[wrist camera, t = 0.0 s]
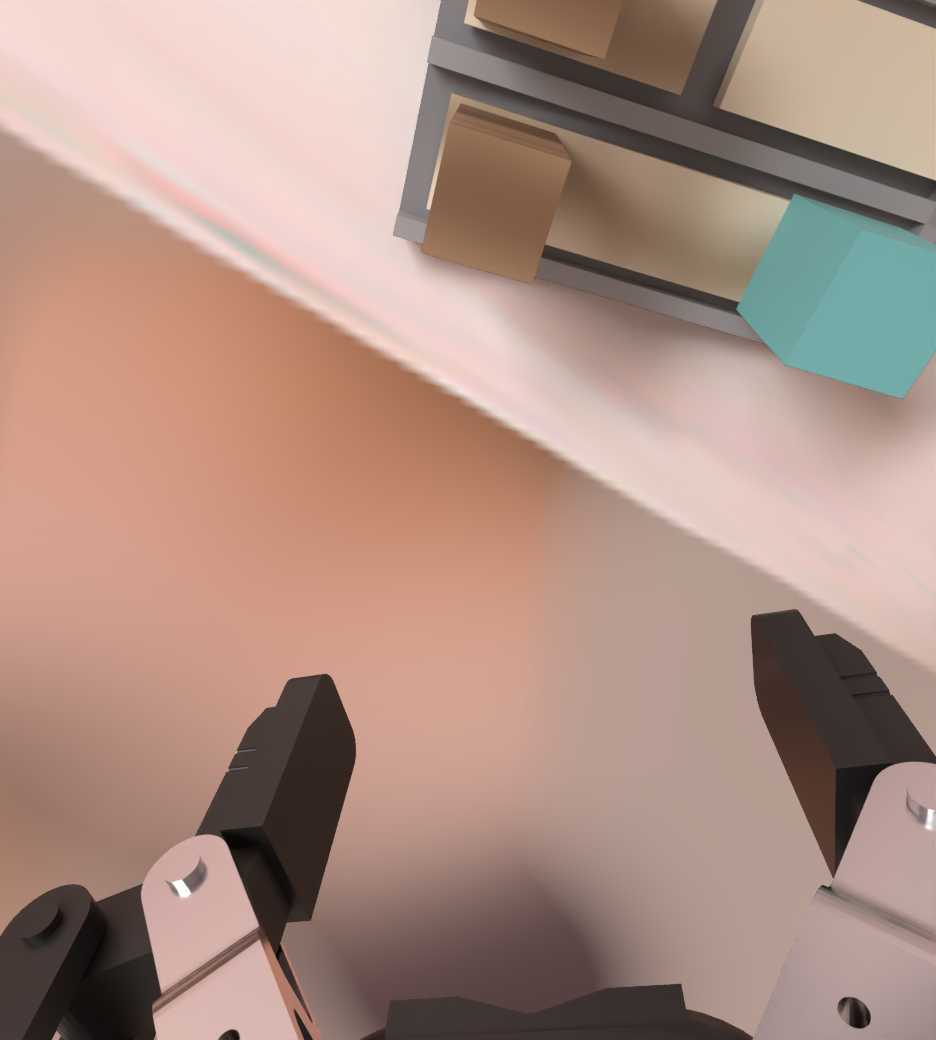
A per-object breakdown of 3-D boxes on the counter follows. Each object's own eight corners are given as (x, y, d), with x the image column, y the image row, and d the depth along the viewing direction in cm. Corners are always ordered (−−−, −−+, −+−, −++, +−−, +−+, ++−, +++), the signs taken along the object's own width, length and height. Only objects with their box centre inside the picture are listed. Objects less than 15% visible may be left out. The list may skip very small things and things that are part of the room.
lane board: (480, -187, 22) (479, -208, 20) (1041, 22, 25) (1086, 21, 23) (398, 225, 30) (391, 238, 28) (838, 354, 32) (859, 374, 30)
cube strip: (453, 91, 26) (437, 110, 19) (902, 235, 28) (1026, 296, 21) (428, 203, 28) (406, 255, 21) (846, 328, 30) (942, 409, 24)
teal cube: (794, 193, 26) (862, 229, 21) (901, 228, 27) (991, 271, 22) (735, 309, 29) (784, 365, 24) (835, 338, 29) (902, 398, 24)
